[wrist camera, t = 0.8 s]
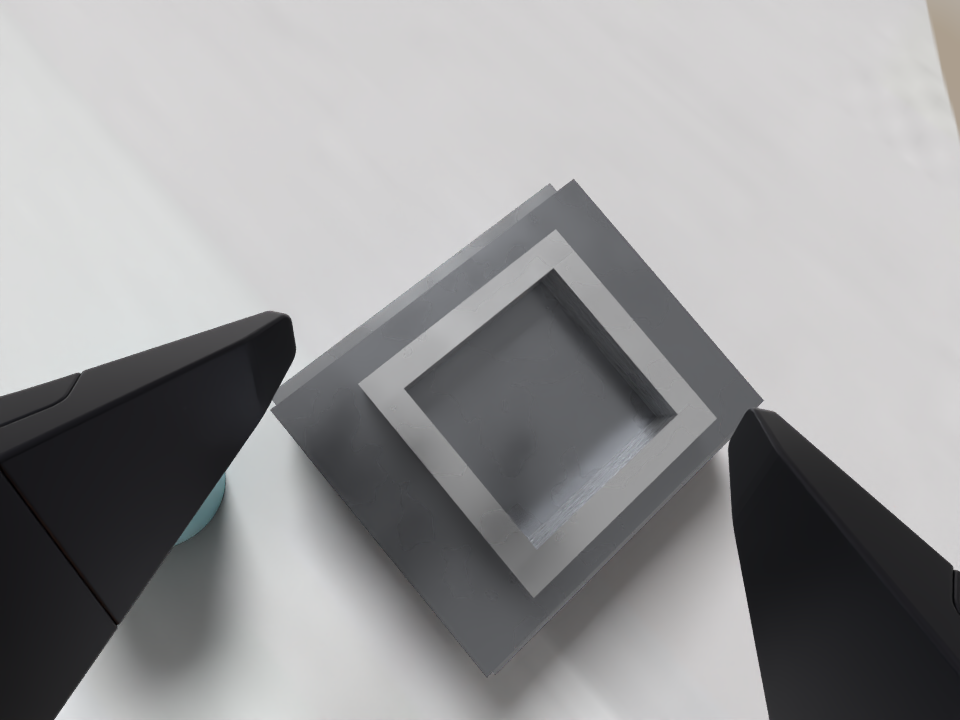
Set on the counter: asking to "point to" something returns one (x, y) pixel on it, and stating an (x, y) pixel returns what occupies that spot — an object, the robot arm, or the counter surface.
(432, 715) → the counter surface
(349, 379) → the square aluminium tube flange
